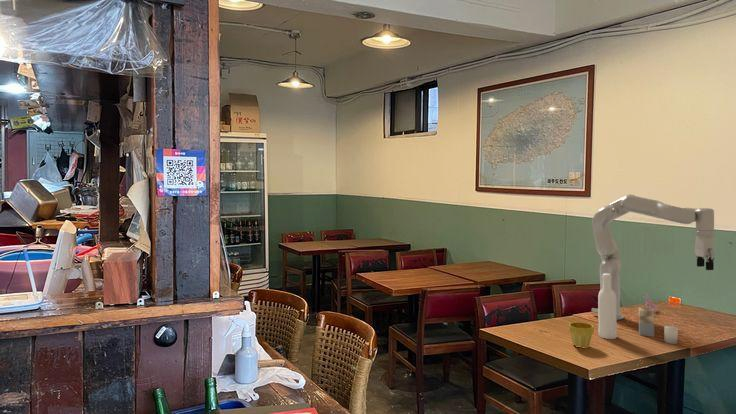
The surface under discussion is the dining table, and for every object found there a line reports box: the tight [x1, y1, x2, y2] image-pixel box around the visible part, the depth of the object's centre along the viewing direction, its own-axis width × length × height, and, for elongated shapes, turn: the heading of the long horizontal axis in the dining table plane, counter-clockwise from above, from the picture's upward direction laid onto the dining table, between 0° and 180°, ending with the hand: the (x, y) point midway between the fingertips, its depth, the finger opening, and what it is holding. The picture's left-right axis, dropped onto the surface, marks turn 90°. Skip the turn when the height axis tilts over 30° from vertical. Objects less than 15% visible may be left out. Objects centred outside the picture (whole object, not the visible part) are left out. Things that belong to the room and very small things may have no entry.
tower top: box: [638, 306, 655, 325], centre depth 242 cm, size 6×6×6 cm
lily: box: [642, 291, 660, 314], centre depth 281 cm, size 12×12×10 cm
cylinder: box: [663, 324, 679, 345], centre depth 229 cm, size 5×5×7 cm
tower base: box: [638, 321, 655, 337], centre depth 242 cm, size 6×6×6 cm
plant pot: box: [568, 321, 595, 347], centre depth 228 cm, size 10×10×10 cm
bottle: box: [597, 274, 618, 340], centre depth 240 cm, size 8×8×30 cm
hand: (705, 268), depth 249 cm, fingers open, 9 cm apart
